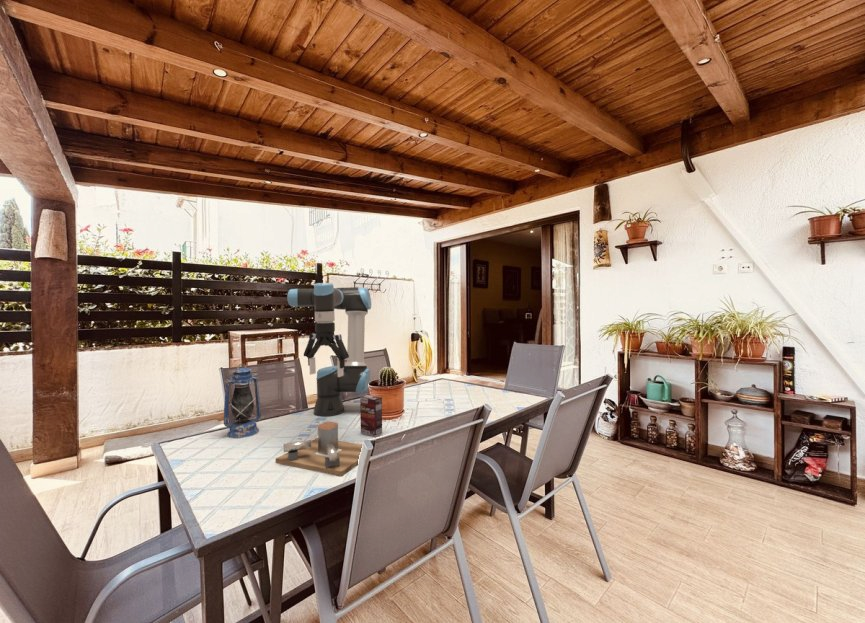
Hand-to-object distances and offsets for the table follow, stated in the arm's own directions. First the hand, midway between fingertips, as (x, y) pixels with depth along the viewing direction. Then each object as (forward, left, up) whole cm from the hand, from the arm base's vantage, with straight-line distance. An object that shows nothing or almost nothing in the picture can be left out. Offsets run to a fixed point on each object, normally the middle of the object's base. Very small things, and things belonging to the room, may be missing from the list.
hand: (326, 375), depth 149 cm
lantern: (+4, -42, -27) cm, 50 cm away
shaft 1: (+19, +2, -26) cm, 32 cm away
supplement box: (-15, +11, -27) cm, 33 cm away
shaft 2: (+19, +17, -26) cm, 36 cm away
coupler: (+11, +9, -25) cm, 29 cm away
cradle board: (+11, +9, -27) cm, 31 cm away
